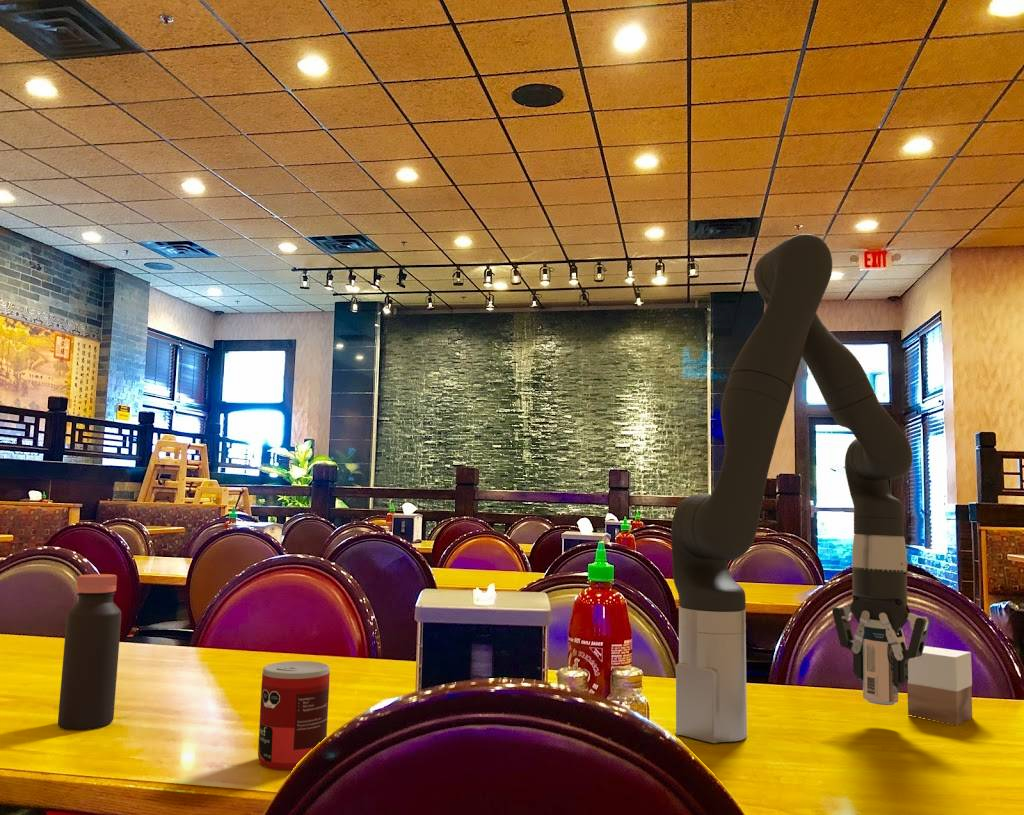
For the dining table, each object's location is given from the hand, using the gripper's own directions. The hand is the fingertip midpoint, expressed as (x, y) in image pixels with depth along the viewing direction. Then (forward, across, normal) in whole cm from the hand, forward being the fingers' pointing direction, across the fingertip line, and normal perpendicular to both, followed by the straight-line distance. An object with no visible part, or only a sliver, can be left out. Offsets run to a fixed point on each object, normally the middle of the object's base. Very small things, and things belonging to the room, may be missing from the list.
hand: (880, 682), depth 122 cm
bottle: (+9, -72, -87) cm, 113 cm away
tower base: (+6, +4, +13) cm, 15 cm away
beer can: (+3, 0, 0) cm, 3 cm away
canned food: (+9, -40, -74) cm, 84 cm away
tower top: (+1, +4, +13) cm, 14 cm away
